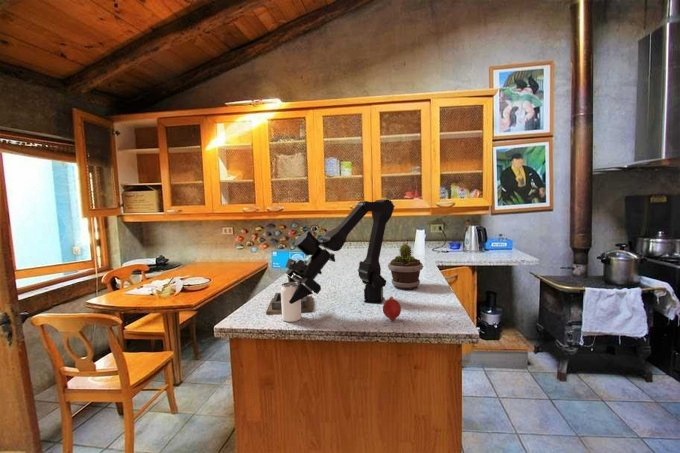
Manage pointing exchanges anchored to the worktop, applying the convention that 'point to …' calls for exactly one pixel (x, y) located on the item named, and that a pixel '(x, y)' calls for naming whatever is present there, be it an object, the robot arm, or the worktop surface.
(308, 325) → the worktop surface
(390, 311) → the onion
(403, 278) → the flowerpot
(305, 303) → the socket
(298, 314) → the can
